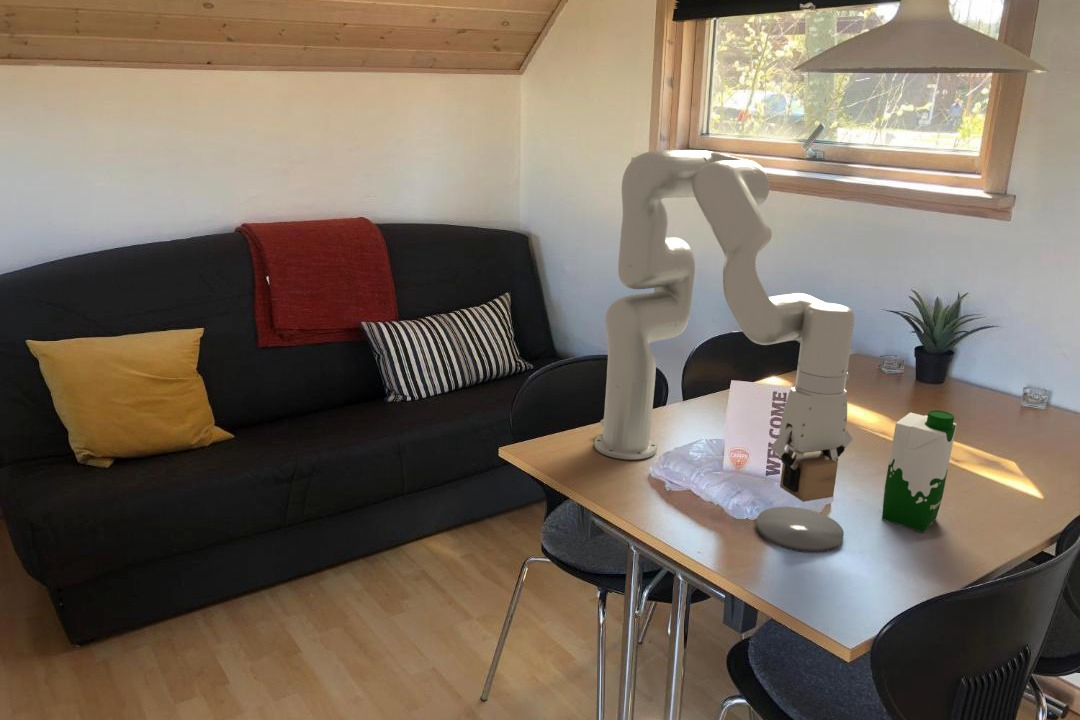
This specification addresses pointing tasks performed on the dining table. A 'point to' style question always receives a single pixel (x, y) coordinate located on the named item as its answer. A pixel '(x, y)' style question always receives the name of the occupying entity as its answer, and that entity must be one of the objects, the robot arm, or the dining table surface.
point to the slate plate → (799, 529)
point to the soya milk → (918, 469)
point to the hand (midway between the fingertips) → (806, 485)
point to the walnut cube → (814, 477)
